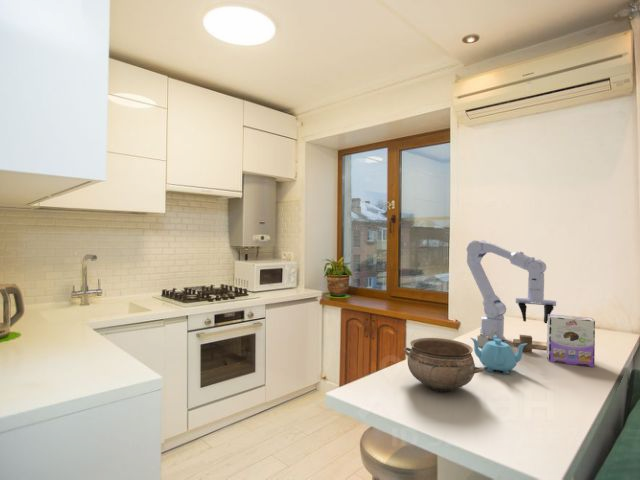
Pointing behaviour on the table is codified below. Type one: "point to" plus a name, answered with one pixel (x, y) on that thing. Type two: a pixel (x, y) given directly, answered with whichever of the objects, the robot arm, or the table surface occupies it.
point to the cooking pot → (441, 363)
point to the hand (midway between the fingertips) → (534, 321)
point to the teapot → (498, 355)
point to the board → (533, 344)
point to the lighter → (485, 338)
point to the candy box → (571, 340)
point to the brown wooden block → (527, 340)
